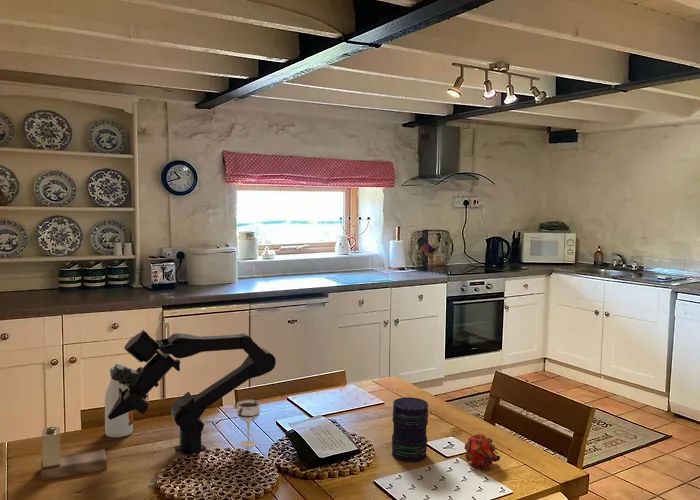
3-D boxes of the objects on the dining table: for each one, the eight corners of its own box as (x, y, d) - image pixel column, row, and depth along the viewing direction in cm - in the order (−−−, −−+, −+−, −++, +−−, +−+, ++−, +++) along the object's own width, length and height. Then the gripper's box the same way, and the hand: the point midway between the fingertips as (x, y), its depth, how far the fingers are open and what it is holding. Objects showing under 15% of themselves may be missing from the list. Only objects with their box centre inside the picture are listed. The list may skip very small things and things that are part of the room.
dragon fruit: (473, 459, 164) (490, 485, 152) (452, 444, 162) (466, 469, 150) (492, 436, 163) (510, 461, 152) (471, 421, 161) (487, 445, 149)
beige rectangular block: (60, 456, 150) (59, 423, 149) (60, 464, 145) (59, 430, 144) (42, 459, 148) (42, 426, 147) (42, 467, 143) (41, 433, 143)
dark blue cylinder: (429, 451, 165) (431, 400, 164) (422, 465, 156) (424, 411, 154) (396, 445, 168) (397, 395, 167) (387, 459, 159) (388, 406, 158)
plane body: (104, 458, 156) (104, 449, 155) (106, 469, 149) (106, 459, 149) (41, 468, 149) (41, 459, 149) (41, 480, 143) (40, 470, 142)
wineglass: (264, 442, 168) (265, 401, 167) (251, 450, 162) (251, 409, 161) (245, 437, 171) (245, 398, 170) (231, 446, 165) (231, 405, 164)
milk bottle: (123, 439, 168) (122, 372, 166) (99, 436, 169) (98, 370, 168) (138, 429, 175) (137, 365, 174) (115, 427, 177) (114, 363, 175)
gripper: (126, 345, 161) (83, 389, 157) (134, 363, 145) (86, 412, 141) (155, 370, 165) (114, 413, 161) (166, 389, 149) (121, 438, 145)
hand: (108, 418), depth 152 cm, fingers closed
